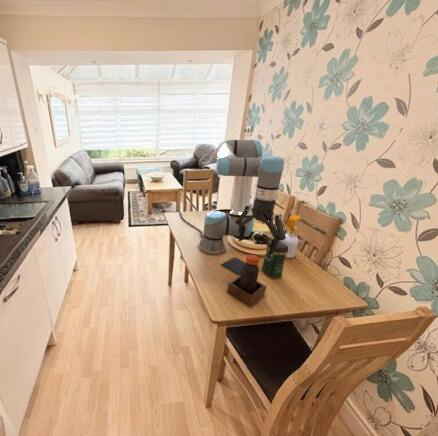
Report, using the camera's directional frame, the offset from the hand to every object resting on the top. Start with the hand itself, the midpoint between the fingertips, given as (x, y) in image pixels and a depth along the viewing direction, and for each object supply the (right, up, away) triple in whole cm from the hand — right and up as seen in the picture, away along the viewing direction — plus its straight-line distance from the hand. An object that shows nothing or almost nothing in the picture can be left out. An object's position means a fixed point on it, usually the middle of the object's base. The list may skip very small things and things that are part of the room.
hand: (255, 246), depth 100 cm
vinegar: (0, -23, +10) cm, 26 cm away
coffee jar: (+19, -17, +25) cm, 36 cm away
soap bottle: (+37, -10, +42) cm, 56 cm away
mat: (+4, -15, +30) cm, 34 cm away
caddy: (0, -23, +10) cm, 26 cm away
